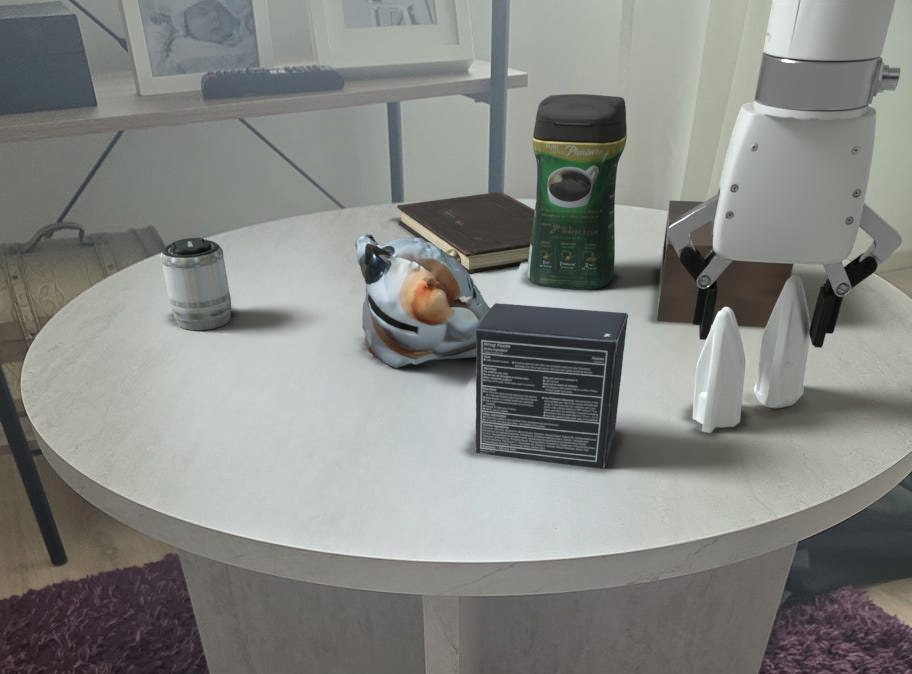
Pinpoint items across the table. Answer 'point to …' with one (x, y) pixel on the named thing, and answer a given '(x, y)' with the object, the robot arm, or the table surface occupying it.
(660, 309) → the brown wooden box
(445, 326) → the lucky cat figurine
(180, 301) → the camera lens
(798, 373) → the shaker set
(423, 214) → the hardcover book
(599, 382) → the small box
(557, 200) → the coffee jar
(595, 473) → the table surface
